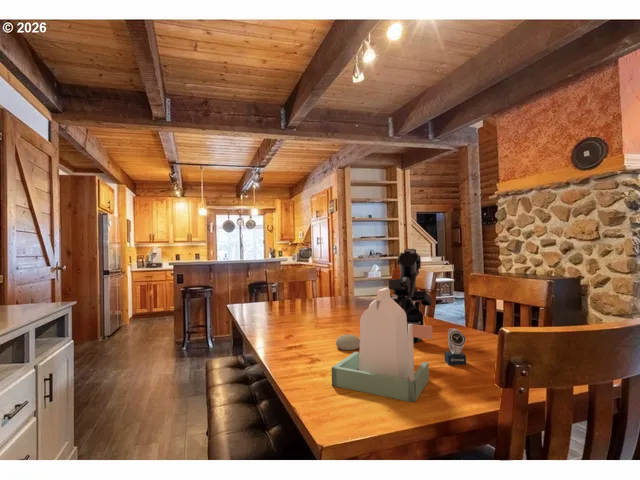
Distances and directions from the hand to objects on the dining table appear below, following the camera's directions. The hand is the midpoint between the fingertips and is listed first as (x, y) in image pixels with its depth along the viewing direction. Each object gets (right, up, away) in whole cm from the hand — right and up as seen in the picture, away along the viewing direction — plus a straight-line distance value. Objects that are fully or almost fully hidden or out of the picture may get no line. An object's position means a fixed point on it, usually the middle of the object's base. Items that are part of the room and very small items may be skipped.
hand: (399, 320), depth 118 cm
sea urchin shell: (-16, -14, +14) cm, 25 cm away
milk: (-8, -13, -17) cm, 23 cm away
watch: (+17, -13, -5) cm, 22 cm away
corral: (-8, -13, -21) cm, 26 cm away
